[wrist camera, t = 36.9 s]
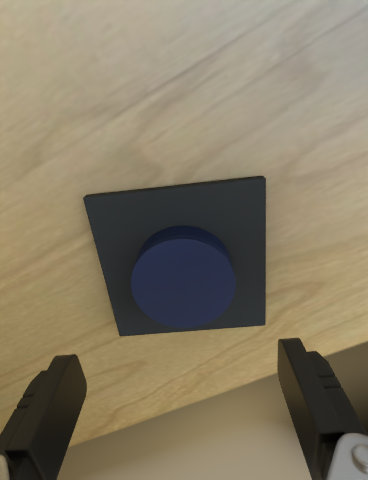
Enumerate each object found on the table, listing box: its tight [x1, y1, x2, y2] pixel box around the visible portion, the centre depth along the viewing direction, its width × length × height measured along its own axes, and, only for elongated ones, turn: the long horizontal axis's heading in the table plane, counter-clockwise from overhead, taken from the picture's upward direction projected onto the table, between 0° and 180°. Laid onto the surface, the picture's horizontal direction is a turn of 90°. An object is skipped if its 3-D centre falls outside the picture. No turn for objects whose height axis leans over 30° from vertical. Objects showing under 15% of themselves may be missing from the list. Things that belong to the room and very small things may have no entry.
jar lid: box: [131, 226, 236, 328], centre depth 17 cm, size 6×6×2 cm
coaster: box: [83, 176, 266, 336], centre depth 18 cm, size 10×10×1 cm
